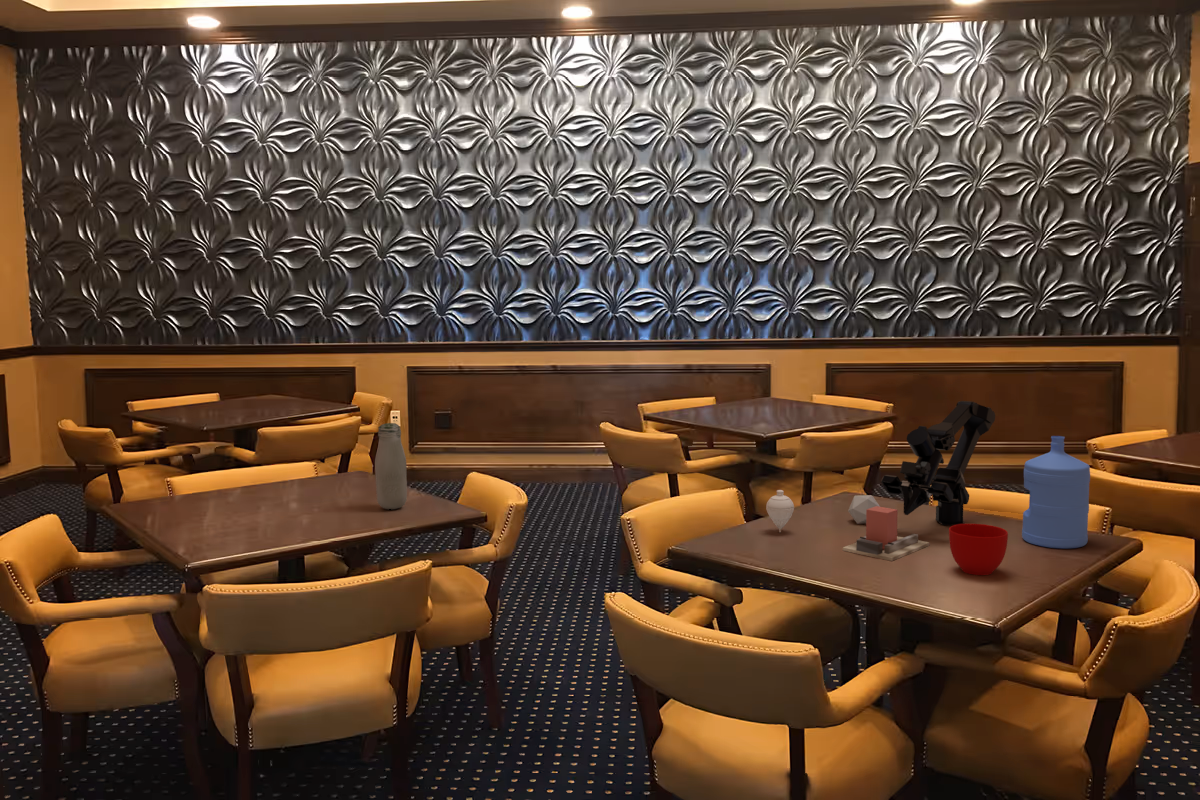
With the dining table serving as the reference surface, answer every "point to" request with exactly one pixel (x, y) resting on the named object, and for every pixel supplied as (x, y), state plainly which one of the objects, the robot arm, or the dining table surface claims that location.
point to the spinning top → (780, 509)
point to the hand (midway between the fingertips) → (905, 514)
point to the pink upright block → (881, 525)
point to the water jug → (1056, 499)
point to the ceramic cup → (978, 547)
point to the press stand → (887, 547)
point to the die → (861, 507)
